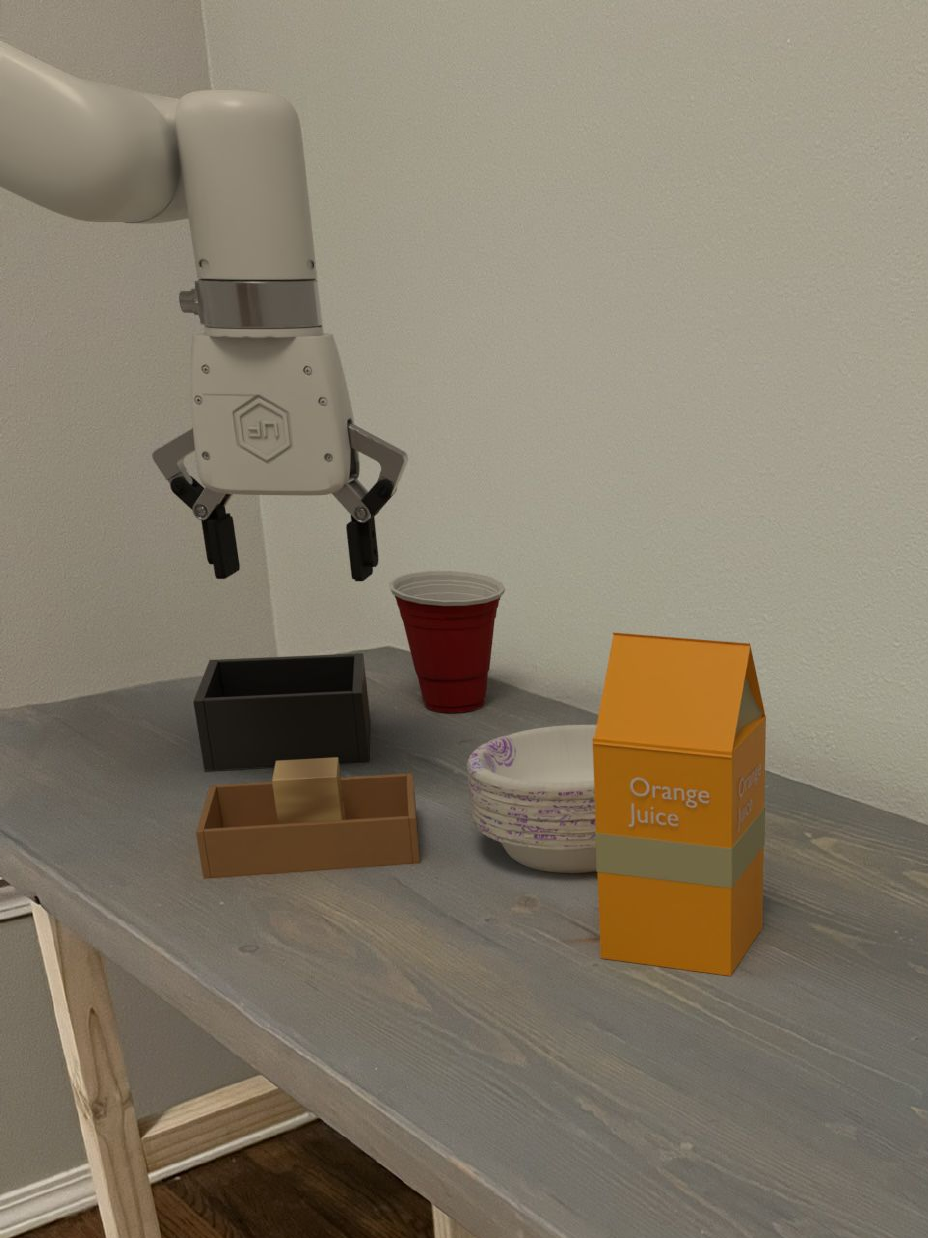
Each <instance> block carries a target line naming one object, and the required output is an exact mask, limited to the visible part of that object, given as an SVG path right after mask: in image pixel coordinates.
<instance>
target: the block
mask: <svg viewBox="0 0 928 1238" xmlns="http://www.w3.org/2000/svg"><path fill="white" fill-rule="evenodd" d="M271 778H272V779H271V782H272V785H273V792H274V799H275V806H276V813H277V821H278V824H291V823H306V822H322V821H337V820H346V818H345V809H344V801H343V792H342V784H341V778H342V776H341V769H340V764H339V759H338V757H334V758H317V759H299V760H281V761H276V763H275V768H273V774H272V777H271Z"/></svg>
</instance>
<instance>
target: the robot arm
mask: <svg viewBox="0 0 928 1238" xmlns="http://www.w3.org/2000/svg"><path fill="white" fill-rule="evenodd" d="M301 127H302V126H301V121H300V118H299V115H298V113H297V110H296V108H295V107H294V105H293V104H292V103H291V102H290V101H289V100H287V99H286V98H285V97H283V96H281V95H279V94H276V93H270V92H266V91H260V90H259V91H258V90H246V89H202V90H195V91H190V92H189V93H186V94H184V95H183V96H182V97H181V98H178V97H170V96H166V95H165V96H164V95H159V94H153V93H149V92H144V91H140V90H134V89H129V88H125V87H123V86H119V85H114V84H109V83H105V82H100V81H96V80H89V79H88V80H87V79H83V78H81V77H78V76H75V75H72V74H70V73H68V72H66V71H64V70H61V69H59V68H57V67H56V66H52V65H51V64H49V63H47V62H45V61H43V60H41V59H39V58H36V57H34V56H32V55H30V54H29V53H27V52H24V51H22V50H20V49H19V48H16V47H15V46H13V45H11V44H9V43H6V42H4V41H2V40H1V39H0V188H2V189H4V190H6V191H8V192H10V193H12V194H14V195H17V196H18V197H21V198H22V199H25V200H27V201H28V202H31V203H33V204H35V205H38V206H40V207H42V208H45V209H47V210H49V211H51V212H53V213H56V214H59V215H62V216H64V217H68V218H70V219H73V220H77V221H83V222H92V223H125V224H140V225H143V224H146V225H147V224H148V225H149V224H150V225H151V224H164V223H171V222H177V221H183V220H184V221H185V220H188V223H189V224H188V225H189V230H190V238H191V245H192V250H193V258H194V264H195V271H196V277H197V280H194V288H190V290H180V291H179V294H178V302H179V307H180V310H181V311H182V313H184V314H193V315H194V316H198V318H199V323H200V325H201V326H202V325H203V328H204V333H203V332H202V333H201V332H200V333H193V334H192V335H191V345H190V346H191V347H190V399H191V400H190V402H191V403H190V404H191V405H190V406H191V418H192V420H191V421H192V427H191V428H190V429H188V430H186V431H185V432H182V433H181V434H179V435H178V436H176V437H175V438H173V439H171V440H169V441H167V442H166V443H164V444H163V445H161V446H159V447H158V448H156V449H154V450H153V451H152V453H151V457H152V460H153V462H154V463H155V465H156V466H157V468H158V469H159V472H160V473H161V474H162V475H163V478H164V479H165V480H166V481H167V482H168V483H169V487H170V490H171V492H172V493H173V494H174V495H175V496H176V497H177V498H178V499H179V500H181V501H182V503H184V504H185V506H187V507H188V508H189V509H190V510H191V511H192V513H193V516H194V517H195V518H196V519H197V520H200V521H201V522H200V523H201V528H202V535H203V542H204V547H205V555H206V560H207V563H208V564H209V565H213V571H214V577H215V578H216V579H217V580H225V579H226V580H227V578H229V577H231V576H232V575H234V574H236V573H237V572H239V571H240V569H241V566H240V558H239V550H238V545H237V544H238V543H237V537H236V529H235V523H234V517H233V516H232V515H231V513H230V512H228V513H227V511H226V506H227V504H228V503H229V501H230V500H231V498H232V497H233V496H234V495H244V496H245V495H246V496H247V495H248V496H249V495H250V496H326V495H327V496H328V495H332V496H333V497H334V498H335V499H336V500H337V501H338V502H339V503H340V505H341V506H342V507H343V508H344V509H345V510H346V511H347V513H348V514H349V515H350V521H349V522H348V523H346V526H345V528H346V529H345V530H346V539H347V548H348V557H349V565H350V577H351V579H352V580H354V582H364V581H366V580H367V579H368V578H369V577H371V576H372V575H373V573H374V568H376V567H378V565H379V550H378V549H379V548H378V538H377V529H376V519H375V518H376V516H377V515H378V514H379V513H380V511H381V510H382V509H383V508H384V506H385V505H386V504H387V503H388V502H389V501H390V500H391V498H392V497H393V496H394V495H395V494H396V492H397V490H398V486H399V483H400V482H401V479H402V476H403V474H404V472H405V469H406V467H407V464H408V462H409V456H408V453H406V452H405V451H404V450H402V449H401V448H399V447H398V446H395V445H393V444H392V443H390V442H388V441H386V440H383V439H382V438H380V437H379V436H377V435H374V434H373V433H371V432H369V431H367V430H365V429H363V428H362V427H359V426H358V425H356V424H355V418H354V412H353V408H352V403H351V397H350V392H349V389H348V384H347V380H346V379H347V378H346V375H345V372H344V368H343V363H342V360H341V356H340V352H339V349H338V346H337V344H336V340H335V337H334V334H333V333H329V332H324V326H323V324H324V323H323V316H322V307H321V297H320V287H319V281H318V271H317V263H316V253H315V245H314V244H315V243H314V235H313V225H312V216H311V206H310V197H309V188H308V180H307V178H308V177H307V171H306V170H307V169H306V162H305V151H304V144H303V143H304V142H303V134H302V128H301ZM193 452H194V454H195V462H196V468H197V473H198V478H199V481H200V482H198V480H196V478H194V477H193V476H192V475H191V474H189V472H188V470H187V469H188V468H186V466H185V464H184V461H185V458H186V457H187V456H189V455H190V454H193ZM360 453H361V454H362V455H364V456H365V457H368V458H370V459H372V460H374V461H375V462H377V463H378V464H379V466H380V471H379V475H378V478H377V480H376V482H375V484H374V485H373V486H372V487H371V488H370V489H369V490H368V489H367V488H366V487H365V485H363V484H362V483H361V481H360V480H359V479H358V478H359V475H360V470H361V469H360V466H361V464H360Z"/></svg>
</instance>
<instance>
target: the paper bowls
mask: <svg viewBox="0 0 928 1238" xmlns="http://www.w3.org/2000/svg"><path fill="white" fill-rule="evenodd" d="M596 726H597V724H565V725H564V724H563V725H552V726H545V727H538V728H532V729H526V730H521V731H517V732H512V733H508V734H505V735H502V736H499V737H496V738H493V739H491V740H489V741H487V742H485V743H483V744H481V745H479V746H478V747H476V748H475V749H474V750H473V752H471V754H470V755H469V756H468V759H467V761H466V769H467V779H468V780H467V782H468V784H467V785H468V793H469V801H470V803H469V804H470V806H469V807H470V809H471V810H470V811H471V817H472V821H473V825H474V827H475V829H476V830H478V832H480V833H481V834H482V835H483V836H486V837H487V838H490V839H492V840H493V841H496V842H499V843H501V845H502V847H503V848H504V850H505V851H506V854H508V855H509V857H510V858H511V859H512V860H514V861H515V862H517V863H518V864H520V865H522V866H524V867H527V868H530V869H533V870H538V871H542V872H549V873H559V874H585V873H595V872H596V873H597V869H596V843H595V833H596V820H595V794H594V767H593V741H592V738H594V737H595V731H596Z"/></svg>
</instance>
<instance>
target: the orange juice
mask: <svg viewBox="0 0 928 1238" xmlns="http://www.w3.org/2000/svg"><path fill="white" fill-rule="evenodd" d="M608 656H609V658H608V661H607V668H606V671H605V678H604V683H603V689H602V693H601V699H600V705H599V711H598V716H597V721H596V725H597V726H596V731H595V737H594V738H592V741H593V767H594V794H595V820H596V833H595V843H596V869H597V871H596V873H597V894H598V896H597V897H598V922H599V925H598V926H599V950H600V959H605V960H611V961H617V962H618V961H619V962H626V963H633V964H640V965H649V966H654V967H655V966H656V967H661V968H668V969H669V968H670V969H675V970H677V969H678V970H683V971H690V972H698V973H704V974H713V975H719V976H725V977H726V976H727V977H731V976H732V975H733V973H734V972H735V970H736V969H737V967H738V966H739V965H740V963H741V961H742V960H743V958H744V956H745V955H746V953H747V952H748V950H749V949H750V947H752V944H753V943H754V941H755V940H756V938H757V937H758V936H759V934H760V932H761V931H762V929H763V913H764V912H763V911H764V910H763V909H764V908H763V907H764V854H765V853H764V852H765V851H764V849H765V837H766V836H765V835H766V807H765V799H766V798H765V796H766V791H765V789H766V739H767V737H766V736H767V733H766V731H767V716H766V711H765V707H764V702H763V698H762V693H761V689H760V683H759V679H758V674H757V670H756V665H755V659H754V656H753V651H752V646H751V643H750V642H749V643H748V642H747V643H746V642H735V641H723V640H711V639H699V638H698V639H697V638H687V637H675V636H674V637H673V636H659V635H650V634H649V635H648V634H638V633H637V634H636V633H623V632H612V640H611V645H610V651H609V655H608Z"/></svg>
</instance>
